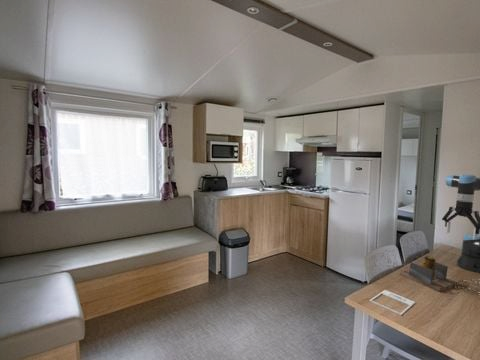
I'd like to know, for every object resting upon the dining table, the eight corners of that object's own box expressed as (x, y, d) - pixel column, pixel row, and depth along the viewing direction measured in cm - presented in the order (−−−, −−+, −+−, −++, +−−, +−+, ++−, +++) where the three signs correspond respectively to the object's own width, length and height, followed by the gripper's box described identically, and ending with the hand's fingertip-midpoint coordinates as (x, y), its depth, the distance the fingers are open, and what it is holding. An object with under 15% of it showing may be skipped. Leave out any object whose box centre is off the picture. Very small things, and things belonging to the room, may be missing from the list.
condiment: (427, 274, 166) (429, 255, 164) (440, 280, 157) (442, 261, 156) (417, 274, 164) (419, 255, 163) (430, 281, 156) (432, 261, 154)
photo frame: (415, 301, 135) (401, 314, 124) (414, 303, 135) (400, 316, 124) (385, 289, 146) (369, 299, 135) (384, 291, 146) (369, 301, 135)
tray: (416, 270, 175) (418, 255, 174) (455, 285, 156) (458, 269, 155) (399, 274, 167) (401, 259, 166) (439, 292, 148) (441, 274, 147)
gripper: (437, 197, 167) (434, 230, 169) (488, 205, 145) (483, 243, 147) (444, 196, 170) (440, 229, 173) (495, 204, 148) (490, 241, 150)
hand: (460, 235), depth 160 cm, fingers open, 13 cm apart
